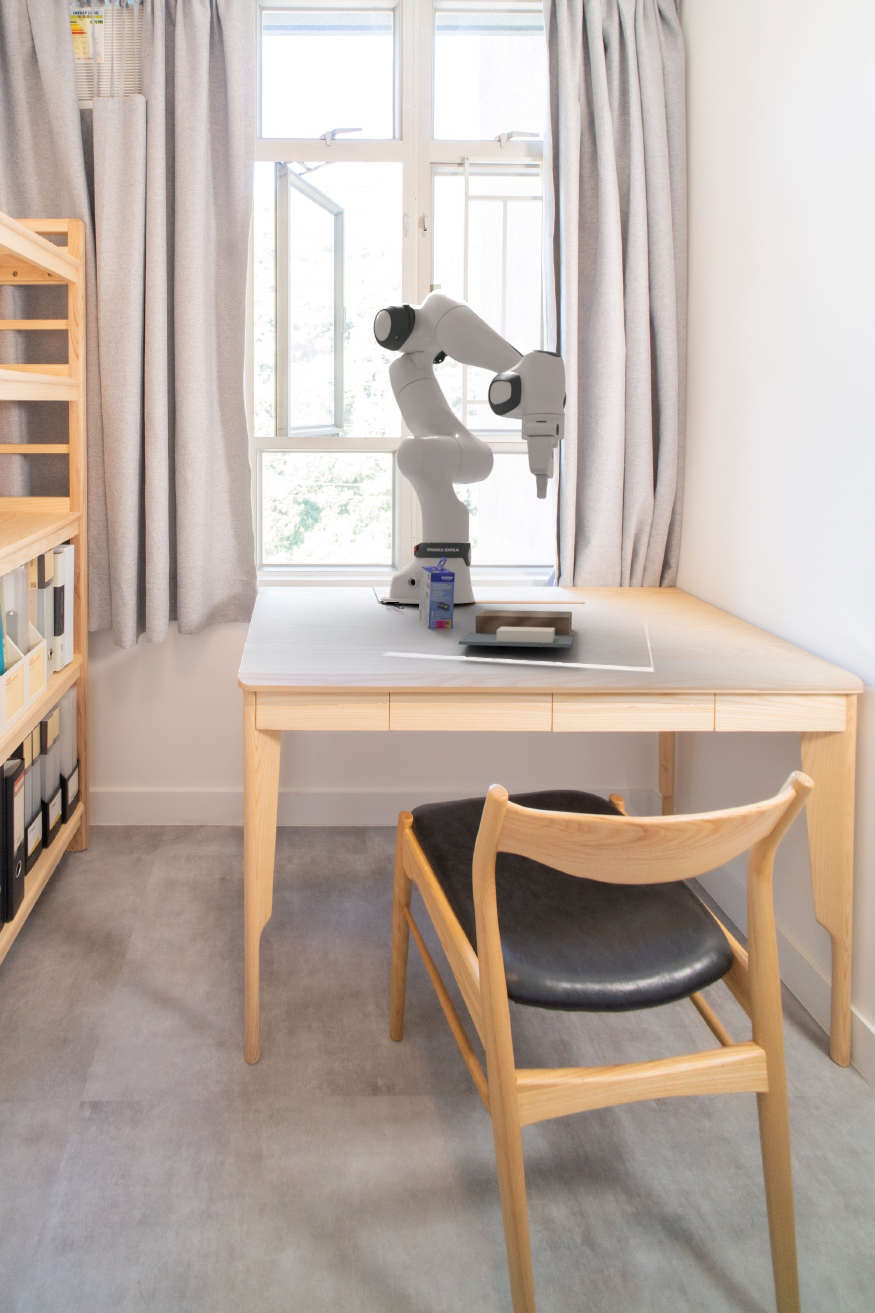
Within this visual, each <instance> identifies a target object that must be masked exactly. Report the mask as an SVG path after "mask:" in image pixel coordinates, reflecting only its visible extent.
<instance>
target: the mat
mask: <svg viewBox="0 0 875 1313" xmlns="http://www.w3.org/2000/svg"><path fill="white" fill-rule="evenodd" d="M496 638H497V633H475V632H470V633H467V634H466V636H464V637H462V638H461V639H459V640H458V643H457V644H458V645H459V646H460V645H464V646H496V647H497V646H499V647H500V646H502V647H534V648H535V647H538V648H543V647H544V648H571V647H572V645H573V642H574V639H575V635H572V634H570V635H555V639H554V641H553V643H543V642H504V641H496Z"/></svg>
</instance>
